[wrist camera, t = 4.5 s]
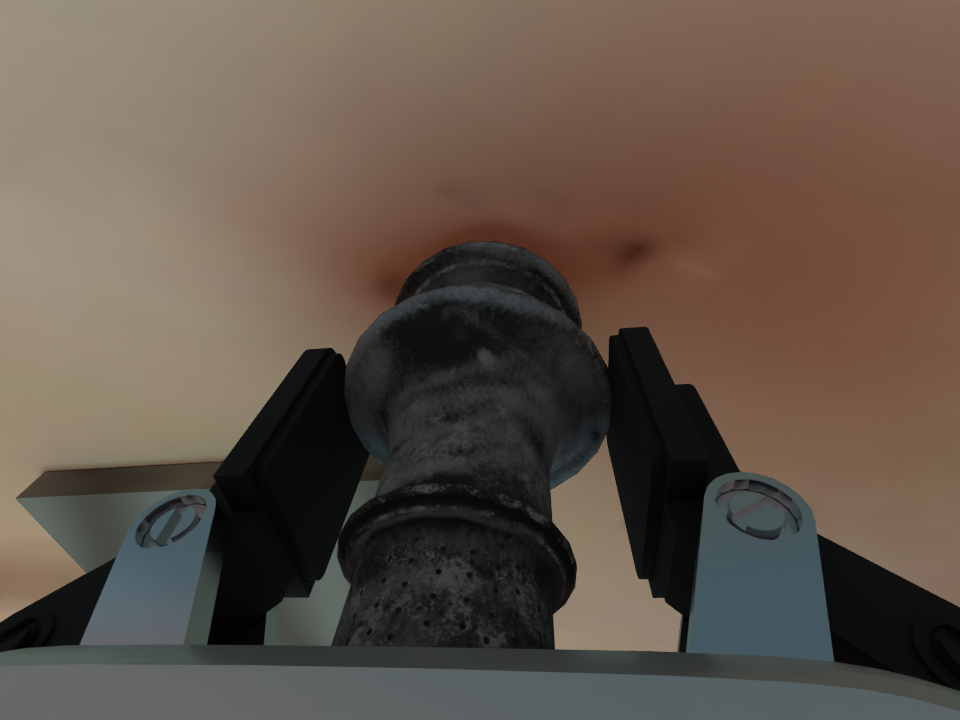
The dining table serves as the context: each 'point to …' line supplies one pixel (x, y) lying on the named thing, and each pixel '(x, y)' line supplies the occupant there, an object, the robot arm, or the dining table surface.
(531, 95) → the dining table surface
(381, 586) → the dark grey chess piece
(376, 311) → the dining table surface
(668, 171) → the dining table surface
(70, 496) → the serving board
